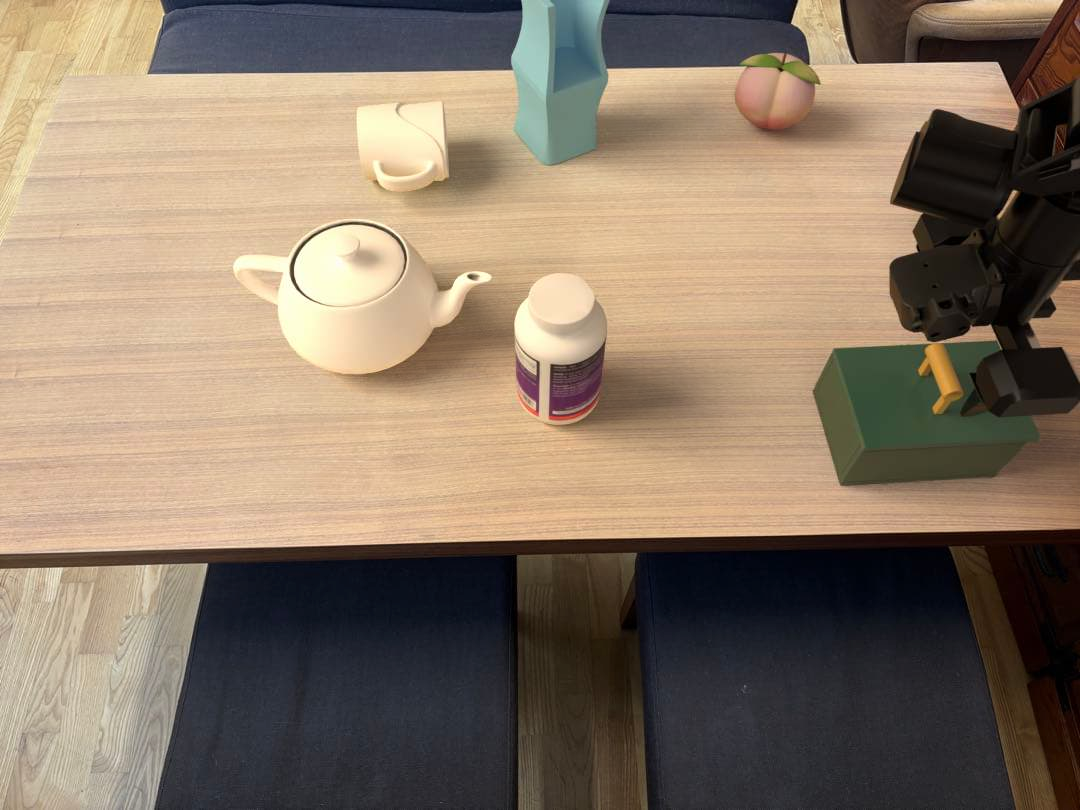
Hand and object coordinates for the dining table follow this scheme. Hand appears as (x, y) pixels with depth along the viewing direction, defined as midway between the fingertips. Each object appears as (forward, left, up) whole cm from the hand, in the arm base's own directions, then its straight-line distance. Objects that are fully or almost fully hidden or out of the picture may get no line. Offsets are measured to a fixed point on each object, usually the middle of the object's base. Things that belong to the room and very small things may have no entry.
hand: (947, 368), depth 71 cm
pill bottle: (+32, +4, -11) cm, 34 cm away
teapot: (+52, +1, -11) cm, 53 cm away
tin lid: (0, 0, -4) cm, 4 cm away
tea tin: (0, 0, -11) cm, 11 cm away
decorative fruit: (+17, -41, -11) cm, 46 cm away
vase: (+41, -32, -11) cm, 53 cm away
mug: (+56, -21, -11) cm, 61 cm away
